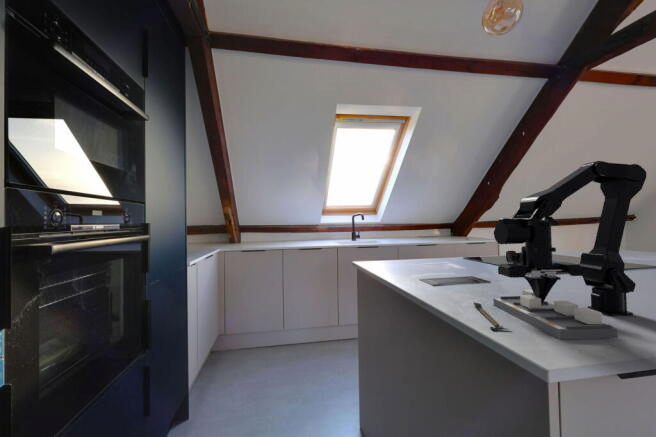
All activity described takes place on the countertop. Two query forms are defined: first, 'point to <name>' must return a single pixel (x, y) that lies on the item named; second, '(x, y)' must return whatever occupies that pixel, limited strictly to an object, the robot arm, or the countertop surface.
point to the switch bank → (554, 320)
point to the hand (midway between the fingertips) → (540, 302)
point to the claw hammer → (489, 319)
